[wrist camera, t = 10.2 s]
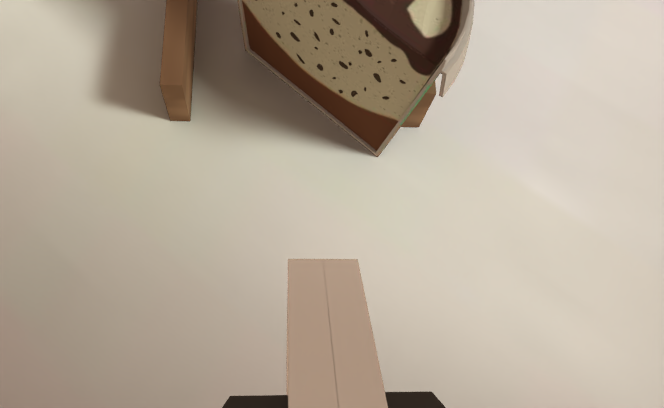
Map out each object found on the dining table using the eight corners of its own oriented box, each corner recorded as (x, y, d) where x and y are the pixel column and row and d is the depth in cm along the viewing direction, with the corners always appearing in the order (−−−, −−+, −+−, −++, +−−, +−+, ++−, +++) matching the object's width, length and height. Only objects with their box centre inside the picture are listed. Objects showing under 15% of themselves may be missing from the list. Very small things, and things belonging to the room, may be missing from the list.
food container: (467, 99, 34) (546, -27, 24) (399, 175, 32) (457, 69, 22) (299, -30, 36) (312, -194, 26) (225, 34, 34) (211, -119, 24)
